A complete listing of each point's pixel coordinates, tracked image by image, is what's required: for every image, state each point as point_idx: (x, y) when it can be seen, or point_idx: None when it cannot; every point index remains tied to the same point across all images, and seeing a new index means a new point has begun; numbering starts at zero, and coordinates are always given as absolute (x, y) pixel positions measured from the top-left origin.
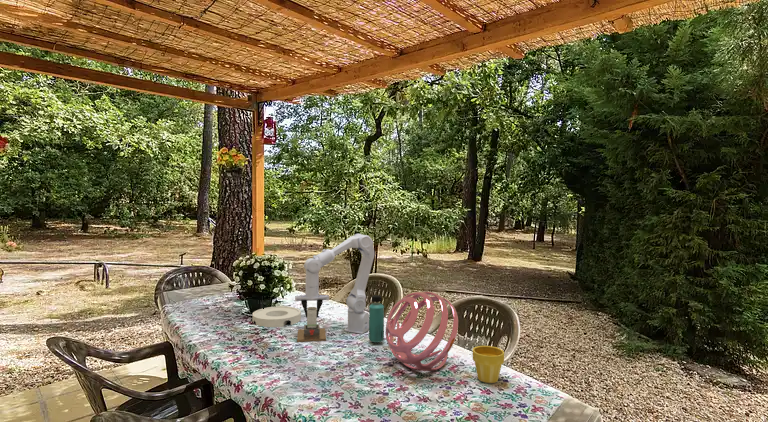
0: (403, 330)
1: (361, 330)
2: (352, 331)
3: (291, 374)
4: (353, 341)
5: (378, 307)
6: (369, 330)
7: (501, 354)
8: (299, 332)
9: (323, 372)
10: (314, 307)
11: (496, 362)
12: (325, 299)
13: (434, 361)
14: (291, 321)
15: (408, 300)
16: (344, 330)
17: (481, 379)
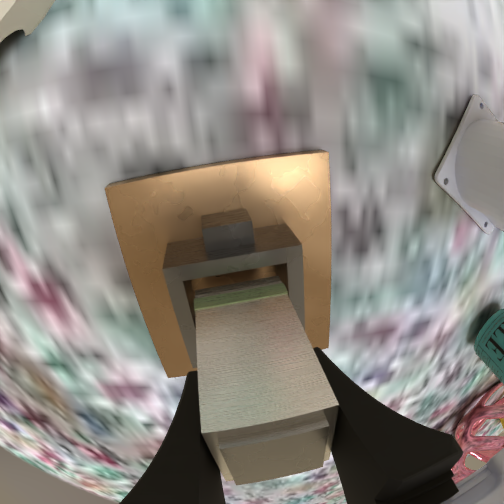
0: None
1: (497, 226)
2: (466, 210)
3: (228, 499)
4: (433, 323)
5: None
6: (495, 367)
7: None
8: (136, 263)
9: (298, 486)
10: (311, 443)
11: None
12: (472, 485)
13: (475, 456)
14: (22, 24)
15: None
16: (437, 183)
17: (500, 419)
